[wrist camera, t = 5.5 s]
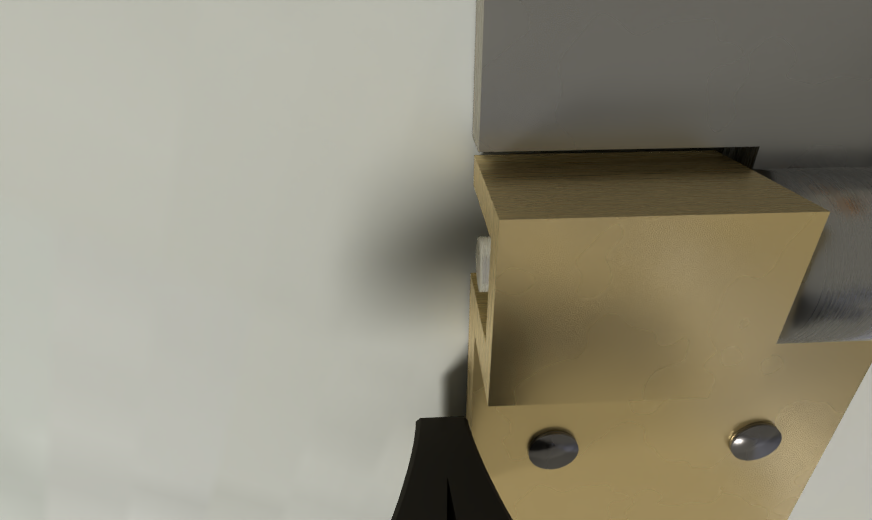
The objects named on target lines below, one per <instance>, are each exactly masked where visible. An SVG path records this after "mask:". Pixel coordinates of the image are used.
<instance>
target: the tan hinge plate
mask: <svg viewBox="0 0 872 520" xmlns="http://www.w3.org/2000/svg"><path fill="white" fill-rule="evenodd" d="M474 188H475V191H476V194H477V198H478V201H479V204H480V207H481V210H482V213H483V216H484V219H485V222H486V226H487V229H488V232H489V235H490V238H491V250H490V269H489V288H488V292H479V289H478V284H477V275H476V273H471V279H470V311H469V342H468V374H467V405H466V419H467V420H468V423H469V427H470V430H471V433H472V436H473V439H474V441H475V444H476V446H477V449H478V451H479V454H480V456H481V458H482V461H483V463H484V465H485V467H486V470H487V472H488V474H489V476H490V478H491V480H492V482H493V484H494V486H495V488H496V490H497V492H498V494H499V496H500V498H501V500H502V501H503V503H504V505H505V507H506V509H507V511H508V512H509V514H510V516H511V518H512V519H513V520H787V519H788V517H789V516H790V514H791V512H792V510H793V508H794V506H795V504H796V503H797V501H798V499H799V497H800V495H801V493H802V491H803V490H804V488H805V486H806V484H807V482H808V480H809V478H810V477H811V475H812V473H813V471H814V469H815V467H816V465H817V463H818V462H819V460H820V458H821V456H822V454H823V452H824V450H825V449H826V447H827V445H828V443H829V441H830V439H831V437H832V436H833V434H834V432H835V430H836V428H837V426H838V424H839V423H840V421H841V419H842V417H843V415H844V413H845V411H846V410H847V408H848V406H849V404H850V402H851V400H852V398H853V397H854V395H855V393H856V391H857V389H858V387H859V385H860V383H861V382H862V380H863V378H864V376H865V374H866V372H867V370H868V369H869V367H870V365H871V363H872V340H870V341H842V342H814V343H785V344H776V343H777V341H778V339H779V336H780V334H781V331H782V329H783V326H784V324H785V321H786V319H787V317H788V314H789V312H790V309H791V307H792V304H793V302H794V299H795V297H796V295H797V292H798V290H799V287H800V285H801V282H802V280H803V277H804V275H805V272H806V270H807V268H808V265H809V263H810V260H811V258H812V255H813V253H814V250H815V248H816V246H817V243H818V241H819V238H820V236H821V233H822V231H823V228H824V226H825V224H826V221H827V219H828V216H829V214H830V211H828V210H826V209H824V208H823V207H821V206H819V205H817V204H815V203H813V202H811V201H809V200H808V199H806V198H804V197H802V196H800V195H798V194H796V193H794V192H793V191H791V190H789V189H787V188H785V187H783V186H781V185H780V184H778V183H776V182H774V181H772V180H770V179H768V178H766V177H765V176H763V175H761V174H759V173H757V172H755V171H753V170H751V169H750V168H748V167H746V166H744V165H742V164H740V163H738V162H737V161H735V160H733V159H731V158H729V157H727V156H725V155H723V154H722V153H720V152H718V151H716V150H709V151H659V152H609V153H559V154H510V155H474Z"/></svg>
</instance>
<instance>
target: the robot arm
mask: <svg viewBox="0 0 872 520" xmlns="http://www.w3.org/2000/svg"><path fill="white" fill-rule="evenodd" d="M391 520H513V519H512V518H511V516H510V514H509V512H508V511H507V509H506V507H505V505H504V503H503V501H502V500H501V498H500V496H499V494H498V492H497V490H496V488H495V486H494V484H493V482H492V480H491V478H490V476H489V474H488V472H487V470H486V467H485V465H484V463H483V461H482V458H481V456H480V454H479V451H478V449H477V446H476V444H475V441H474V439H473V436H472V433H471V430H470V427H469V423H468V420H467V419H466V418H465V417H464V416H459V417H435V418H420V419H419V420H417V421H416V430H415V438H414V444H413V449H412V454H411V458H410V462H409V466H408V470H407V473H406V477H405V480H404V483H403V487H402V490H401V493H400V497H399V500H398V503H397V505H396V508H395V511H394V514H393V516H392V519H391Z"/></svg>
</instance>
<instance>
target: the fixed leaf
mask: <svg viewBox="0 0 872 520" xmlns="http://www.w3.org/2000/svg"><path fill="white" fill-rule="evenodd" d="M472 137H473V139H474V142H475V144H476V146H477V149H478V151H479V152H505V151H556V150H606V149H656V148H707V147H724V148H723V152H722V154H723V155H725V156H727V157H729V158H731V159H733V160H735V161H737V162H738V163H740V164H742V165H744V166H746V167H748V168H750V169H751V170H753V171H755V172H757V173H759V174H761V175H763V176H765V177H766V178H768V179H770V180H772V181H774V182H776V183H778V184H780V185H781V186H783V187H785V188H787V189H789V190H791V191H793V192H794V193H796V194H798V195H800V196H802V197H804V198H806V199H808V200H809V201H811V202H813V203H815V204H817V205H819V206H821V207H823V208H824V209H826V210H828V211H830V214H829V216H828V219H827V221H826V224H825V226H824V228H823V231H822V233H821V236H820V238H819V241H818V243H817V246H816V248H815V250H814V253H813V255H812V258H811V260H810V263H809V265H808V268H807V270H806V272H805V275H804V277H803V280H802V282H801V285H800V287H799V290H798V292H797V295H796V297H795V299H794V302H793V304H792V307H791V309H790V312H789V314H788V317H787V319H786V321H785V324H784V326H783V329H782V331H781V334H780V336H779V339H778V341H777V343H776V344H785V343H814V342H842V341H870V340H872V0H476V32H475V66H474V100H473V134H472ZM490 250H491V238H490V237H478V238H477V243H476V275H477V284H478V289H479V292H488V288H489V269H490Z"/></svg>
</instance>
